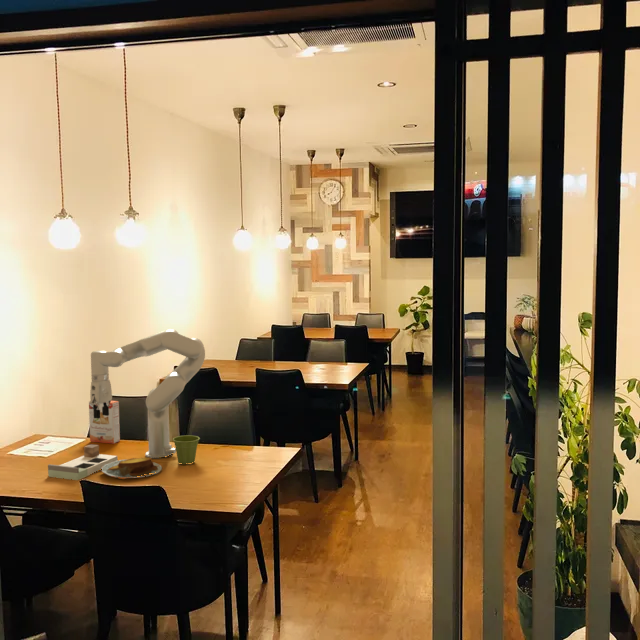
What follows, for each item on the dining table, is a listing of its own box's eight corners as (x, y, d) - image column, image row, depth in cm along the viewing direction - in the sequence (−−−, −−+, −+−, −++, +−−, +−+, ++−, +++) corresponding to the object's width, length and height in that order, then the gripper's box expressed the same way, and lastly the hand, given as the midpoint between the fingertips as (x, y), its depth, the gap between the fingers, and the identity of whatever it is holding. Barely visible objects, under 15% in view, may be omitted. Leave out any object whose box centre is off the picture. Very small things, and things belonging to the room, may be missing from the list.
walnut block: (99, 454, 300) (98, 445, 299) (92, 457, 295) (92, 447, 295) (90, 454, 301) (90, 444, 301) (84, 456, 297) (83, 446, 297)
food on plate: (131, 461, 300) (131, 447, 300) (174, 469, 288) (174, 454, 288) (87, 477, 278) (87, 461, 277) (132, 486, 266) (131, 470, 265)
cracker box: (89, 442, 334) (88, 401, 332) (96, 439, 339) (95, 399, 338) (113, 444, 330) (112, 402, 328) (120, 441, 335) (119, 400, 334)
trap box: (117, 462, 298) (117, 451, 298) (77, 480, 273) (77, 468, 273) (90, 459, 303) (89, 448, 303) (48, 476, 278) (47, 465, 278)
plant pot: (197, 466, 291) (197, 441, 290) (170, 467, 291) (170, 441, 290) (202, 459, 303) (201, 435, 302) (176, 459, 303) (175, 435, 302)
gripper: (94, 381, 293) (95, 421, 295) (118, 375, 309) (119, 413, 311) (80, 380, 296) (82, 420, 297) (105, 374, 312) (106, 412, 313)
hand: (101, 416), depth 304 cm, fingers open, 5 cm apart
